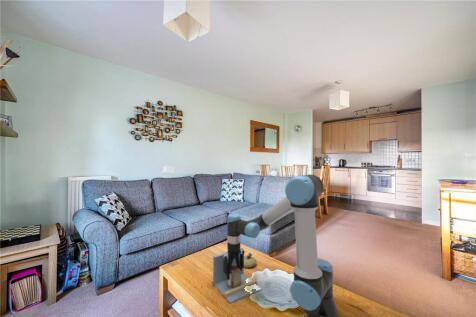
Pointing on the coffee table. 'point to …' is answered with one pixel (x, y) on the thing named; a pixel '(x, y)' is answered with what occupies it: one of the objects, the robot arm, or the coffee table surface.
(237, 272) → the cabinet block
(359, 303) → the coffee table surface
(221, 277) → the bracket
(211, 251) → the coffee table surface
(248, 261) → the acorn cap
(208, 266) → the coffee table surface
